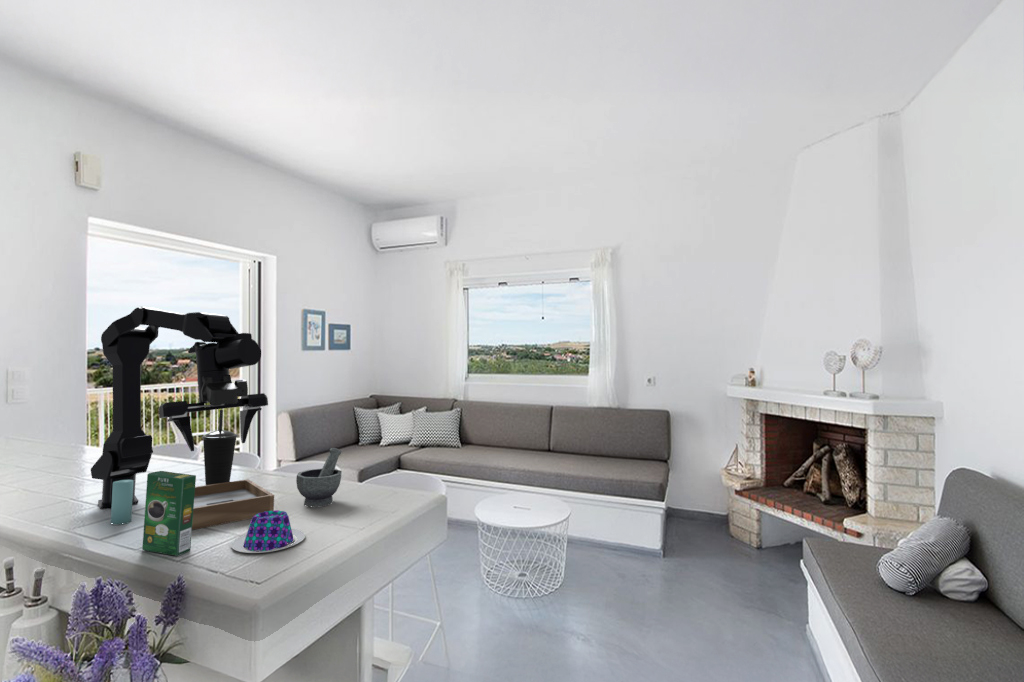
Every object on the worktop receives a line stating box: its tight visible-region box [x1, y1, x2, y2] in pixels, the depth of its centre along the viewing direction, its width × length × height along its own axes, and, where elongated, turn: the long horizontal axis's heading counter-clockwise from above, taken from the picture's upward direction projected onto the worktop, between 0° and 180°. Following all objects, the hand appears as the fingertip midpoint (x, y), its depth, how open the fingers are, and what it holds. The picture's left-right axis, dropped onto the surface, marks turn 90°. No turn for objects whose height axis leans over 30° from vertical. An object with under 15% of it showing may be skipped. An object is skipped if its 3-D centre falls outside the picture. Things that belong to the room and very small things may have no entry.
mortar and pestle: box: [295, 447, 342, 508], centre depth 111 cm, size 11×9×12 cm
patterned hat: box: [230, 509, 306, 554], centre depth 86 cm, size 12×12×5 cm
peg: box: [110, 480, 134, 525], centre depth 95 cm, size 3×3×8 cm
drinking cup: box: [201, 409, 238, 485], centre depth 119 cm, size 8×8×20 cm
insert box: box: [192, 478, 275, 531], centre depth 103 cm, size 18×16×4 cm
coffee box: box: [142, 470, 197, 557], centre depth 82 cm, size 8×3×13 cm, turn 75°
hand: (218, 447), depth 99 cm, fingers open, 9 cm apart
